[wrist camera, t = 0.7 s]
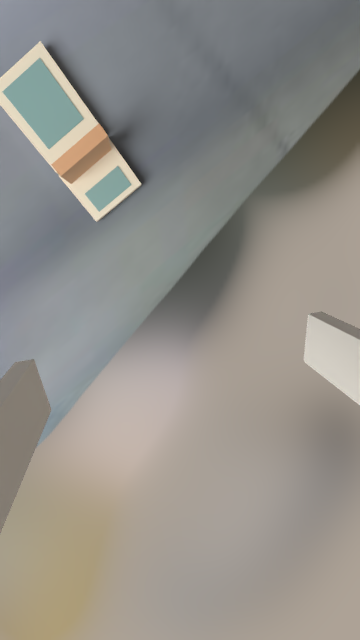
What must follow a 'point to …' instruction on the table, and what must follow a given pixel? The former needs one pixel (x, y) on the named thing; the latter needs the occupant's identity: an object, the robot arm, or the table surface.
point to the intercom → (96, 173)
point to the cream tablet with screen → (44, 104)
